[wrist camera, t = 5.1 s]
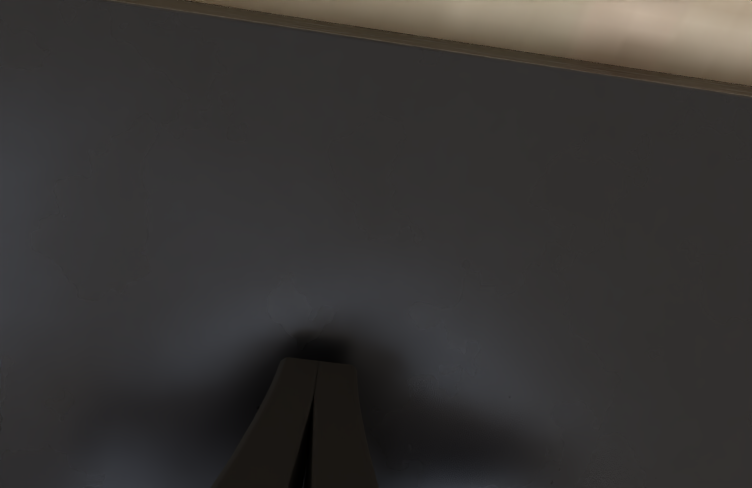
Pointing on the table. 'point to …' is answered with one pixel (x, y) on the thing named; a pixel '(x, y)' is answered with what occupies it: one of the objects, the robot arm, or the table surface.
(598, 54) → the table surface
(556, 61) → the laptop
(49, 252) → the laptop screen
